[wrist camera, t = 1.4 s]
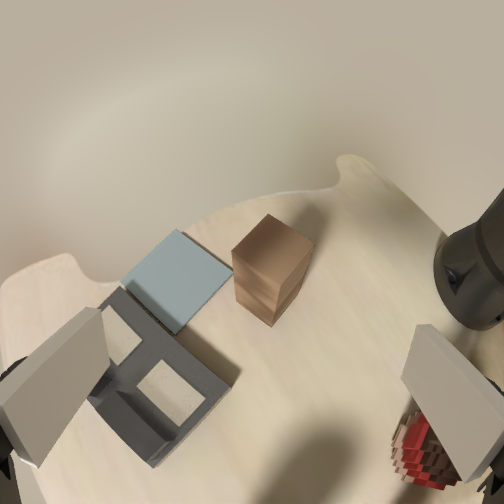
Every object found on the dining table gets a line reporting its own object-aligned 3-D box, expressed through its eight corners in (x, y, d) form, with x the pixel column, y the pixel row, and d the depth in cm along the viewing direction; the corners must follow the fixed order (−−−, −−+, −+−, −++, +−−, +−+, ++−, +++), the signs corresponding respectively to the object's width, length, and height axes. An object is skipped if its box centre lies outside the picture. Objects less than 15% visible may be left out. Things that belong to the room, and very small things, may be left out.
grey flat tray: (231, 388, 29) (228, 383, 25) (158, 466, 25) (143, 472, 20) (125, 292, 35) (110, 273, 31) (62, 358, 30) (40, 347, 26)
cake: (370, 470, 24) (475, 497, 9) (403, 396, 28) (516, 358, 13) (439, 489, 22) (549, 500, 6) (466, 420, 26) (578, 392, 10)
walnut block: (297, 295, 35) (315, 243, 26) (271, 327, 33) (280, 285, 24) (263, 271, 37) (268, 213, 27) (236, 301, 35) (231, 250, 25)
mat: (233, 273, 36) (233, 272, 36) (175, 335, 32) (174, 334, 32) (176, 230, 40) (175, 228, 39) (121, 282, 36) (120, 281, 35)
